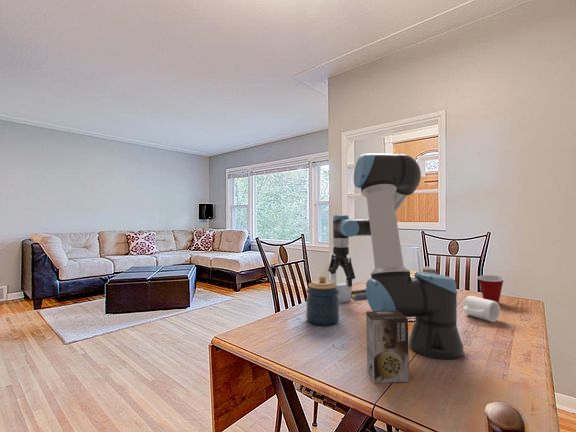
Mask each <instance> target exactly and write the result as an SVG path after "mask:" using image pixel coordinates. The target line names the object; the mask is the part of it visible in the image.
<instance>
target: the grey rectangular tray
mask: <svg viewBox="0 0 576 432" xmlns="http://www.w3.org/2000/svg"><path fill="white" fill-rule="evenodd" d="M351 300H355V301H358V300H367V295H366V288H365V289H364V288H363V289H357V290H352V293H351Z"/></svg>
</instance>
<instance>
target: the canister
mask: <svg viewBox="0 0 576 432" xmlns="http://www.w3.org/2000/svg"><path fill="white" fill-rule="evenodd" d="M336 284H337V283H336ZM336 284H335V283H333V282H332V281H331V280H328V279H327V278H326V277H325V275H321V276H320V277H319V278H318V279H316V280H312V281H311V282H310V283H308V288H307V289H305V290H306V291H305V292H306V294H307V297H306V299H305V300H306V301H305V302H306V316H305V317H306V321H307V322H308V323H309V324H311V325H314V326H318V327H319V326H320V327H328V326H334V325H336V324H338V323H339V322H340V321H339V320H340V311H339V307H340V306H339V305H340V302H339V299H338V293H339V290H337V289H336V287H337V285H336Z"/></svg>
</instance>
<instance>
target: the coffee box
mask: <svg viewBox="0 0 576 432" xmlns="http://www.w3.org/2000/svg"><path fill="white" fill-rule="evenodd" d="M365 314H366V317H365V319H366V322H365V323H366V325H365V326H366V372H367V373H368V375H369V377H370V379H371V380H372V383H374V384H385V383H386V384H387V383H388V384H389V383H408V382H410V362H409V360H410V359H409V357H410V356H409V317H405V316H404V315H403V314H402V313H401V312H399V311H372V310H371V311H366V313H365Z"/></svg>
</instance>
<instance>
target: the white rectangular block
mask: <svg viewBox="0 0 576 432" xmlns="http://www.w3.org/2000/svg"><path fill="white" fill-rule="evenodd" d="M336 285H337V287H336V289H337V290H339V293H338V299H339V303H343V302H350V301H352V298H351V293H348V294H347V293H346V282H342V283H336Z"/></svg>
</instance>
